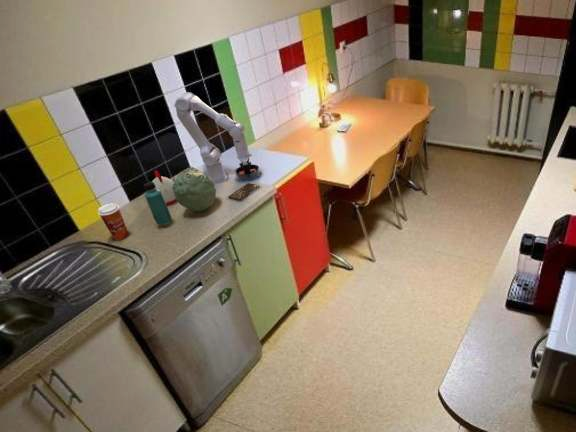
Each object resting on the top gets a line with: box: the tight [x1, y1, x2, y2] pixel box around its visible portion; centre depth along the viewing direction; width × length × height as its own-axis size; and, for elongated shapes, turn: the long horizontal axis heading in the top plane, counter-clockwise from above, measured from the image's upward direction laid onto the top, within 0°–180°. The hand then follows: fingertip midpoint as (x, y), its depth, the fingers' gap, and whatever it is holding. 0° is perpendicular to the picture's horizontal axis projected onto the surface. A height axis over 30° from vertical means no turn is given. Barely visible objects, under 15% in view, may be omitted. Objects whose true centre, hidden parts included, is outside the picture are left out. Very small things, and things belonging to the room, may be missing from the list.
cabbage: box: [172, 166, 217, 212], centre depth 186 cm, size 16×19×20 cm
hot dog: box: [239, 169, 256, 174], centre depth 215 cm, size 9×3×3 cm, turn 110°
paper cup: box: [97, 203, 129, 241], centre depth 172 cm, size 8×8×14 cm
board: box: [228, 182, 260, 202], centre depth 202 cm, size 14×7×1 cm, turn 155°
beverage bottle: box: [143, 181, 173, 226], centre depth 176 cm, size 6×7×20 cm
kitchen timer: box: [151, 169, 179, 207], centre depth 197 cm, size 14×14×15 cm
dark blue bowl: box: [234, 163, 261, 182], centre depth 215 cm, size 12×12×4 cm
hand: (247, 172), depth 215 cm, fingers open, 7 cm apart
